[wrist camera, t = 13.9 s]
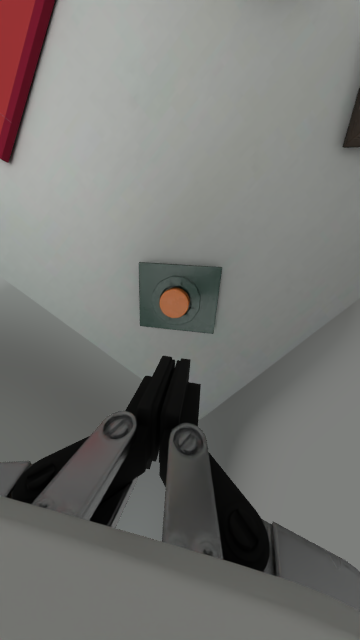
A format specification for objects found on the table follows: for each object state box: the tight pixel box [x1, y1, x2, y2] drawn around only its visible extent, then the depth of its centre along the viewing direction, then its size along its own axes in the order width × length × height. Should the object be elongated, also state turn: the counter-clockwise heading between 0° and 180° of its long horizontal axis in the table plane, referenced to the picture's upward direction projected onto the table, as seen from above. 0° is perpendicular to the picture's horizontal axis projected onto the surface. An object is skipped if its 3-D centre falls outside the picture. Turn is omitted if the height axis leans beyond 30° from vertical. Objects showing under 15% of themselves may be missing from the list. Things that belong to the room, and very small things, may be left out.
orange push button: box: [159, 287, 190, 318], centre depth 24 cm, size 4×4×2 cm
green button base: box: [139, 262, 222, 334], centre depth 26 cm, size 12×10×4 cm
